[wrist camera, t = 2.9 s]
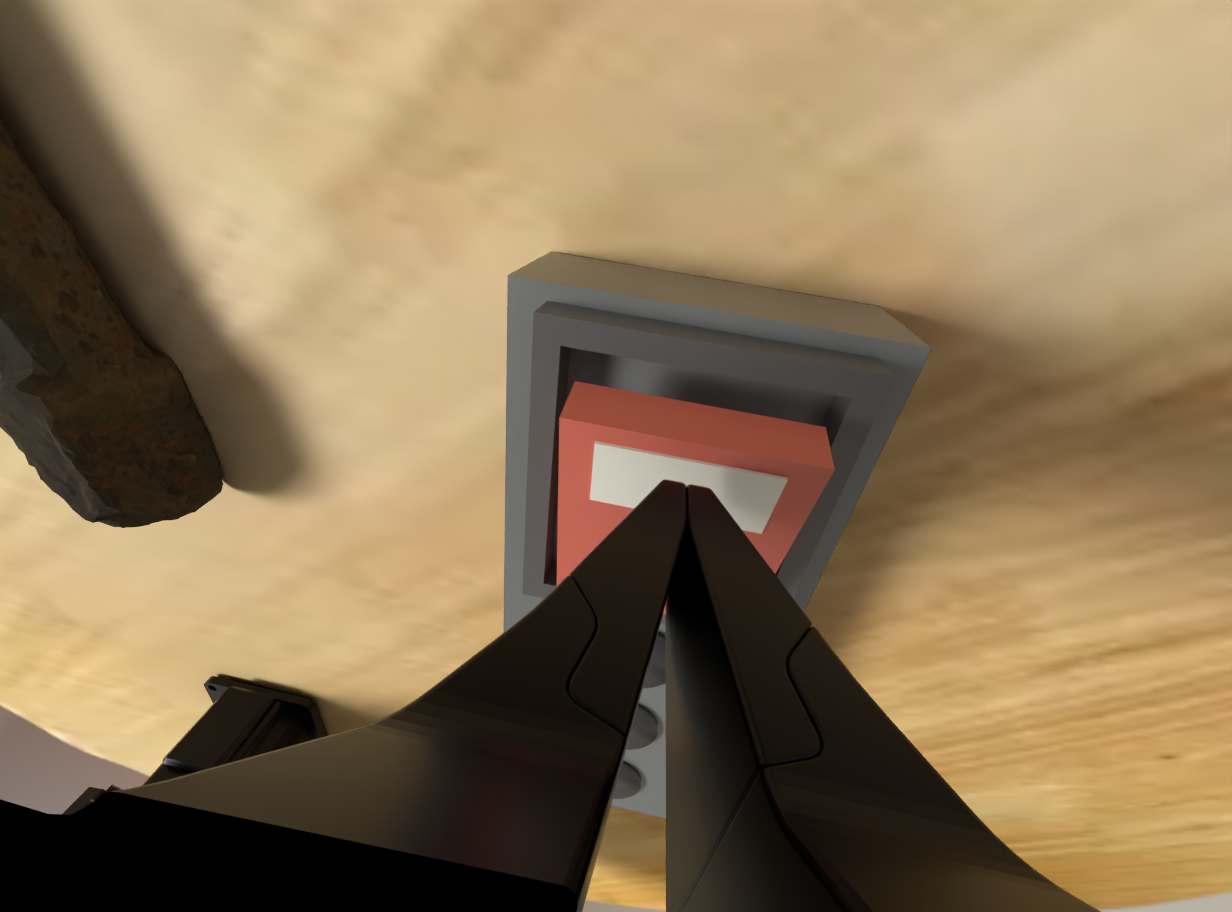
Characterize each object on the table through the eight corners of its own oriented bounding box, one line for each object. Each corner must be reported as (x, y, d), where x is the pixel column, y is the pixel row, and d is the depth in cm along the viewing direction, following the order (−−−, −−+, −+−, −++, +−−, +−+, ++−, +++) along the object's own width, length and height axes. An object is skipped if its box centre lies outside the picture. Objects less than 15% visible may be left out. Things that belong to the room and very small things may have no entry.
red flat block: (742, 590, 14) (742, 633, 13) (567, 554, 14) (555, 593, 13) (826, 427, 9) (835, 472, 9) (575, 380, 10) (558, 419, 9)
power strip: (699, 746, 24) (698, 854, 21) (526, 706, 25) (493, 804, 21) (879, 306, 13) (953, 364, 9) (550, 251, 14) (490, 284, 10)
